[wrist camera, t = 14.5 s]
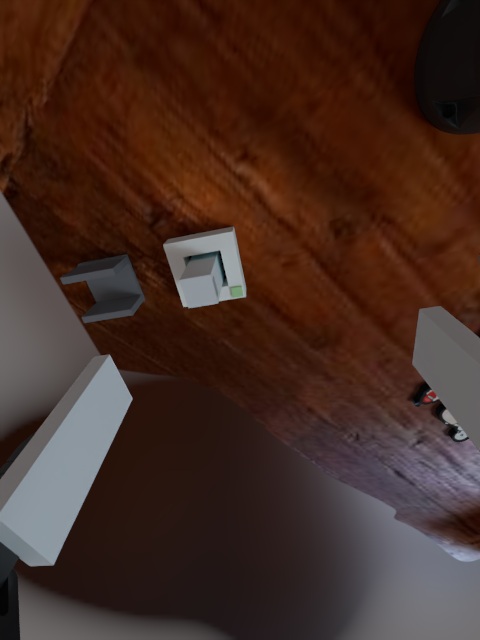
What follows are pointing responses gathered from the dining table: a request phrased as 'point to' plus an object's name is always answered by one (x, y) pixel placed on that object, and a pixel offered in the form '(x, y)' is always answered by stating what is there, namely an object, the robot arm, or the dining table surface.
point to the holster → (108, 287)
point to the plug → (202, 279)
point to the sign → (440, 412)
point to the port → (206, 243)
